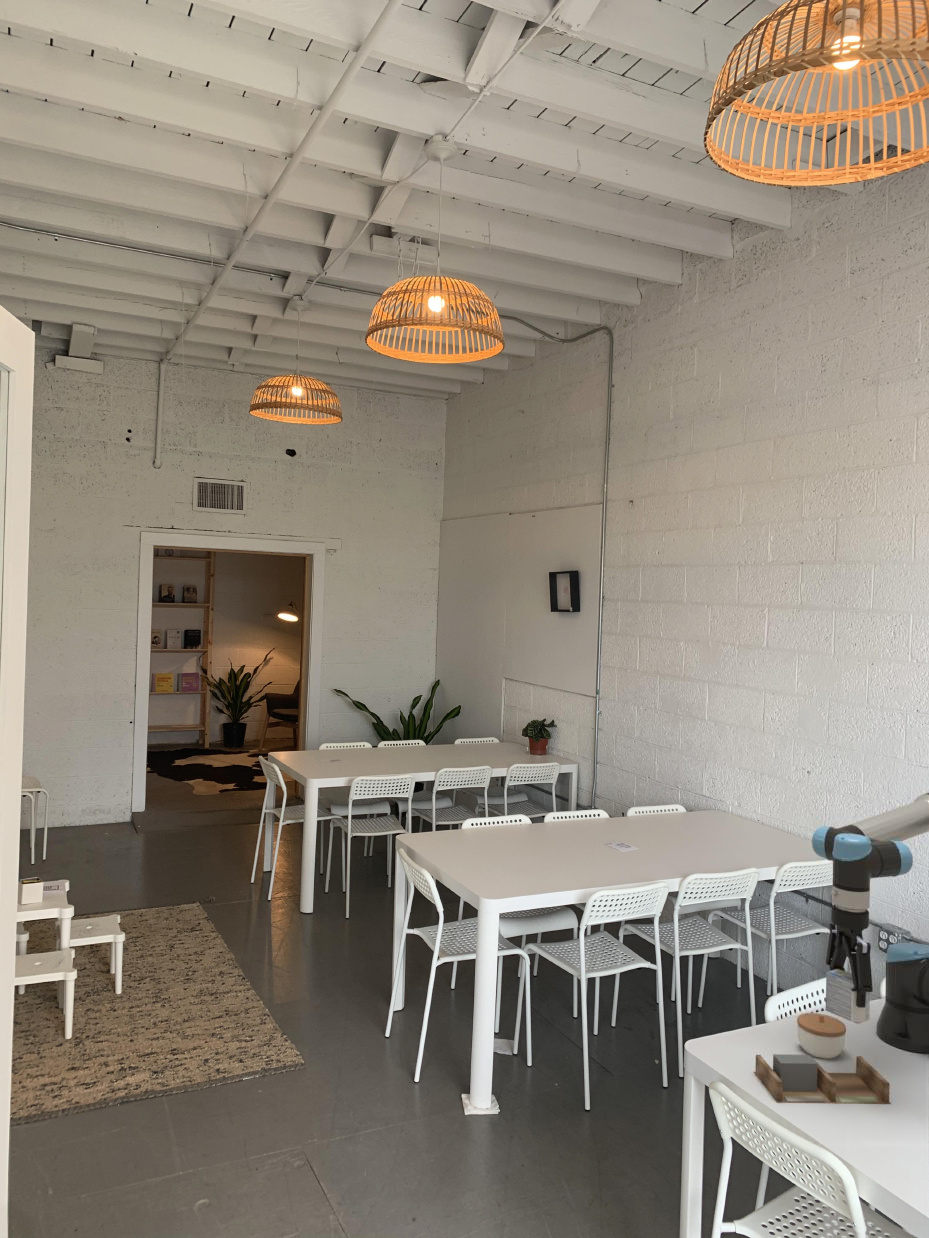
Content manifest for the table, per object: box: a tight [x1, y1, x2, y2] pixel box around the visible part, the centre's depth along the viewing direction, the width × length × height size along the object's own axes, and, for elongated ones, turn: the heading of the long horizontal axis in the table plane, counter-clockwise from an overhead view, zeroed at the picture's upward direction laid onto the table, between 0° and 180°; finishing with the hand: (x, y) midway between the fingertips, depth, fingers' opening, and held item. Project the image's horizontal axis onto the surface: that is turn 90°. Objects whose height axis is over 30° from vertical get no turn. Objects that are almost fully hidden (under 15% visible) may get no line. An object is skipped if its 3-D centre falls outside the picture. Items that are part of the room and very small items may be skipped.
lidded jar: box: [796, 1012, 847, 1060], centre depth 209 cm, size 11×11×9 cm
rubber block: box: [772, 1053, 818, 1092], centre depth 191 cm, size 8×4×6 cm, turn 93°
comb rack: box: [753, 1054, 892, 1105], centre depth 191 cm, size 13×24×5 cm, turn 93°
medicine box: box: [825, 969, 871, 1025], centre depth 192 cm, size 8×4×9 cm, turn 33°
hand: (847, 1011), depth 192 cm, fingers closed on medicine box, 9 cm apart
